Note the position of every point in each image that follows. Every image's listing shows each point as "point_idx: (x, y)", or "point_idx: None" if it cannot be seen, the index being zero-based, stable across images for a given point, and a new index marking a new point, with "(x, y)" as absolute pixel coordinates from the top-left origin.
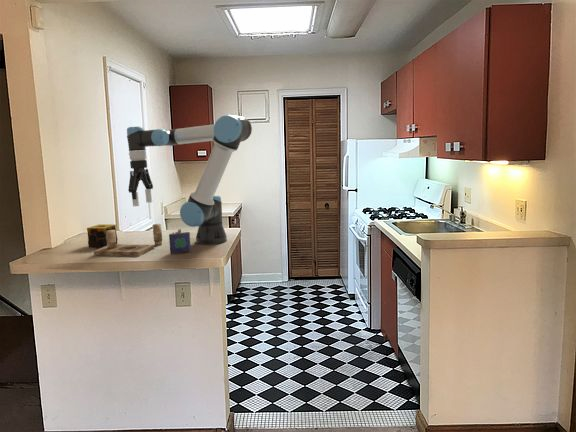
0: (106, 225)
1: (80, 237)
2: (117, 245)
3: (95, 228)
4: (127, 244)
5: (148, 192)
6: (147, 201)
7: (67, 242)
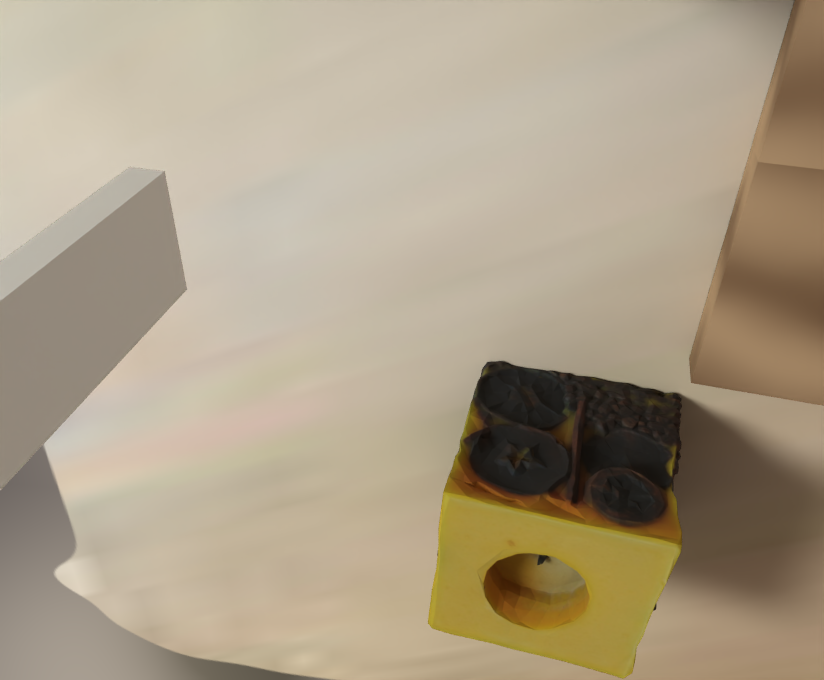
0: (491, 559)
1: (272, 640)
2: (777, 298)
3: (649, 614)
4: (743, 207)
5: (11, 367)
6: (170, 277)
7: (427, 672)
